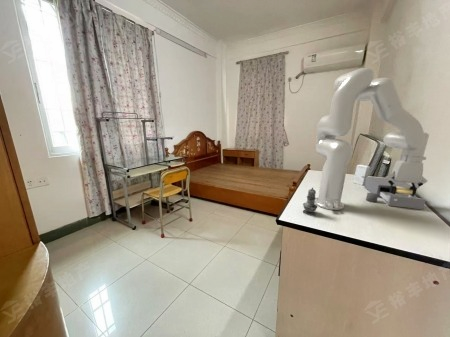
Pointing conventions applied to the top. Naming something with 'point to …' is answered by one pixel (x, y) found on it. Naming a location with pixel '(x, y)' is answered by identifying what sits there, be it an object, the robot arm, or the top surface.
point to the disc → (404, 190)
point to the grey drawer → (403, 200)
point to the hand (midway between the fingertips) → (401, 193)
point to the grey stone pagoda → (310, 203)
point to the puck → (371, 197)
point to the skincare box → (361, 174)
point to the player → (381, 185)
